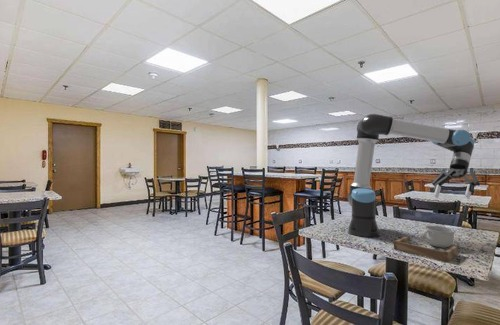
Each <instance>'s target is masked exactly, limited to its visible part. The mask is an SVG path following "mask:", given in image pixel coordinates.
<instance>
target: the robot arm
mask: <svg viewBox="0 0 500 325" xmlns="http://www.w3.org/2000/svg"><path fill="white" fill-rule="evenodd" d="M356 131H357V132H356V133H357V134H356V141H357V142H358V146H357V147H358V148H357V155H356V162H355V169H354V175H353V176H354V177H353V182H352V183H351V184H350V186H349V192H348V194H347V201H348V202H347V203H348V204H349V205H350V206H351V220H350V222H349V225H348V233H349V234H350V235H352V236H356V237H357V236H358V237H361V238H363V237H365V238H374V237H379V236H380V229H379V225H378V224H377V220H376V199H377V197H376V192H375V190H373V188H372V187H371V185H370V183H371V176H372V168H373V159H374V154H375V146H376V143H378V142H379V138H380V135H382V136H383V135H384V136H389V135H395V136H400V137H405V138H411V139H417V140H423V141H428V142H431V143H432V144H434V145H436V146H438V147H441V148H442V149H446V150H447V151H450V152H453V154H452V158H451V161H450V165H449V169H447V170H445V169H442V170H441V172H440V173H439V175H438V176H437V177H435V179H434V180H433V181H432V182H431V185H432V186H434V189H433V191H434V194H433V195H434V197H435V198H436V199H439V196H440V192H441V190H442V187H441V186H443V185H444V184H446V183H447V182H448V181H451V180H453V179H462V178H463V179H464V180H465V181H466V182H467V183H468V184H467V185H466V190H465V194H464V197H466V199H470V198H471V194H472V192H474V191H475V187H476V186H478V187H479V186H480V185H481V183H480V181H479V179H478V177H477V175H476V171H475V169H474V168H473V167H470V161H471V158H472V155H473V150H474V147H475V140H474V139H473V138H472V137H471V134H470V132H469V131H468V130H466V129H458V130H456V129H450V128H445V127H439V126H432V125H428V124H420V123H416V122H409V121H404V120H398V119H394V117H393V116H387V115H382V114H377V113H371V114H370V113H369V114H367V115H365V116H364V117H363V118H362V119H360V121H358V123H357V126H356ZM469 167H470V168H469ZM468 173H469V174H470V175H471V178H472V179H473V181H472V180H471V179H470V178H469V177H468V176H467V174H468Z"/></svg>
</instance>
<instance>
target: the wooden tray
mask: <svg viewBox="0 0 500 325" xmlns="http://www.w3.org/2000/svg"><path fill="white" fill-rule="evenodd" d="M394 249H395V251H398V250H400V251H399V252H402V251H403V253H408V254H411V255H415V254H416V256H419V255H421V256H420V257H423V256H426V257H425V258H427V257H429V258H428V259H431V258H433V260H435V259H436V260H437V261H439V260H441V261H440V262H444V263H449V262H450V261H452V260H453V259H454V258H456V257H457V256H459V246H457V245H452V246H450V248H448V249H447V250H446V251H445V250H444V251H443V250H440V249H439V250H438V249H435V248H434V249H433V248H430V247H425V246H421V245H415V244H412V243H410V236H403V237H400V238H399V239H396V240H394V241H393V250H394Z"/></svg>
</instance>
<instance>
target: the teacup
mask: <svg viewBox="0 0 500 325" xmlns="http://www.w3.org/2000/svg"><path fill="white" fill-rule="evenodd" d="M424 227H425V229H424V230H423V232H422V237H423V239H425V240H426V242H428V244H429V245H430V246H432V247H437V248H441V249H446V248H448V247H452V246H453V244H454V236H455V231H454V230H453V229H451V228H448V227H444V226H439V225H426V226H424Z"/></svg>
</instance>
